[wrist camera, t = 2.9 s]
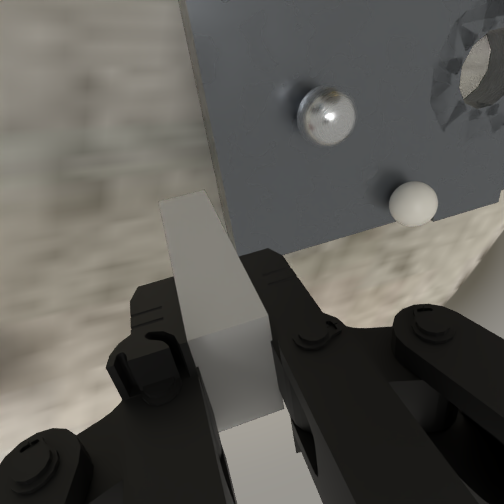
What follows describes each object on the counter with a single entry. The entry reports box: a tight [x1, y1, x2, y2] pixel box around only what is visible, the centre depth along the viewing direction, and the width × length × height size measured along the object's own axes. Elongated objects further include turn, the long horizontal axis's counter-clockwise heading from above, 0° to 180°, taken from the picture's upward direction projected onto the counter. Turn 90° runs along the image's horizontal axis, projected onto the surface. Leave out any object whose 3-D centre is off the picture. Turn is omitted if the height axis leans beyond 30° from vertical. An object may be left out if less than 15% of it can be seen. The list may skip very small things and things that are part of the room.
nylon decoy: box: [389, 181, 438, 227], centre depth 26 cm, size 3×3×3 cm
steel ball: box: [297, 84, 358, 148], centre depth 21 cm, size 3×3×3 cm
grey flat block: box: [178, 0, 504, 257], centre depth 24 cm, size 24×20×2 cm
